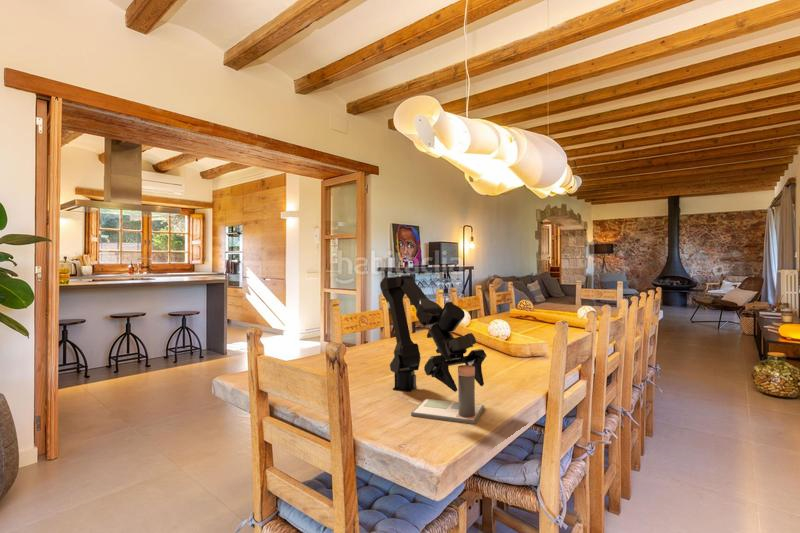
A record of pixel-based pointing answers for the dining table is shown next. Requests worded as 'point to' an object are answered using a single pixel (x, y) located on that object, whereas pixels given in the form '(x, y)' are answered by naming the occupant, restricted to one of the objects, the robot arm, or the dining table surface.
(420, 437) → the dining table surface
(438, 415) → the picture board
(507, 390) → the dining table surface
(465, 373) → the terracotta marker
